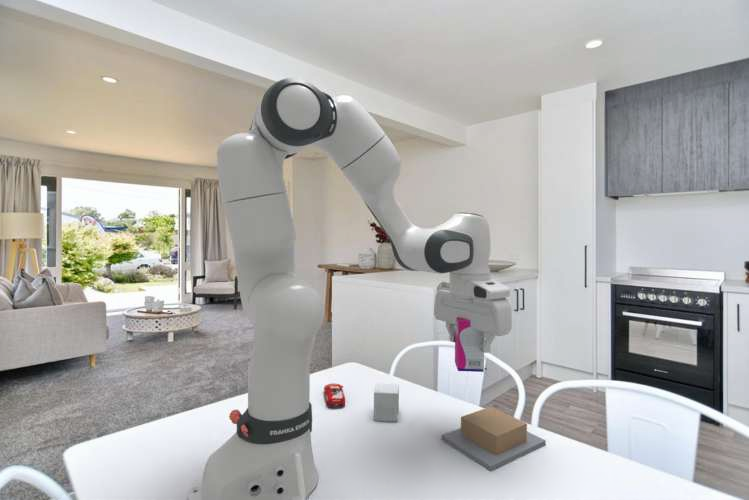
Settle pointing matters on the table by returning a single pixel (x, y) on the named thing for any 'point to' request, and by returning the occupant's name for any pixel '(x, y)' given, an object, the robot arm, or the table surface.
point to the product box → (386, 402)
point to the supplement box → (468, 347)
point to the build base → (486, 454)
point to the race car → (334, 395)
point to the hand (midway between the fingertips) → (469, 346)
